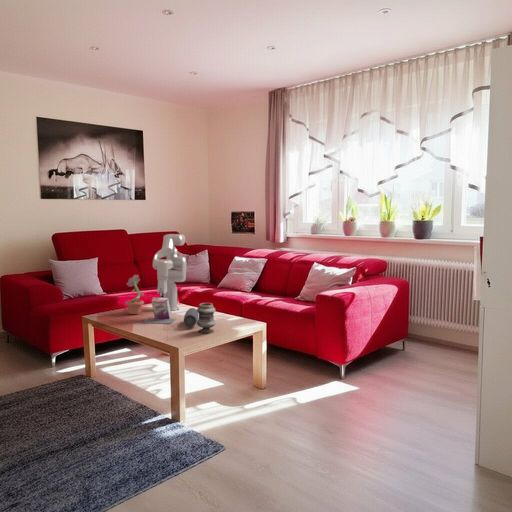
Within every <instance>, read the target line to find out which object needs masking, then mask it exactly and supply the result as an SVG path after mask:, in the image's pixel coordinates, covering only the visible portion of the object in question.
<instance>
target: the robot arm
mask: <svg viewBox="0 0 512 512" xmlns="http://www.w3.org/2000/svg"><path fill="white" fill-rule="evenodd" d="M162 239H163V241H162V246H161V249H159V250H158V251H157V252H156V253H155V254H154V256H153V259H152V268H153V269H154V270H157V272H156V274H157V275H156V276H157V277H156V278H157V294H158V295H159V296H160V297H159V298H168V300H169V305H170V310H173V311H177V310H176V309H178V310H180V307H179V306H178V287H177V284H176V283H175V282H177V283H178V282H179V283H180V282H181V283H183V282H185V281H186V278H187V265H188V264H187V258H186V257H184V256H178V252H179V251H178V249H177V248H176V246H184V244H185V243H186V237H185V234H183V233H182V234H181V233H176V234H175V233H169V234H165V235H163V238H162ZM162 258H166V259H162Z"/></svg>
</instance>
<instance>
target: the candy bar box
mask: <svg viewBox="0 0 512 512" xmlns="http://www.w3.org/2000/svg"><path fill="white" fill-rule="evenodd" d="M151 307H152V309H153V310H152V311H153V315H154V318H155V319H171V316H172V311H170V305H169V300H168V298H160V297H156V296H155V297H154V296H153V297H152V299H151Z"/></svg>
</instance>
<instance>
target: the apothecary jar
mask: <svg viewBox="0 0 512 512" xmlns="http://www.w3.org/2000/svg"><path fill="white" fill-rule="evenodd" d="M196 310H197V312H198V320H197V322H196V325H197V326H198V327H200V329H199V330H198V333H200V334H212V333H214V329H213V327H214V326H215V325H216V320H215V318H214V317H215V316H214V313H215V312H216V308H215V307H214V305H213V303H211V302H202V303H199V305H198V307H197V308H196Z"/></svg>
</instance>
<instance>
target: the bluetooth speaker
mask: <svg viewBox="0 0 512 512" xmlns="http://www.w3.org/2000/svg"><path fill="white" fill-rule="evenodd" d="M198 320H199V313H198V312H197V308H194V307H190V308H189V309H188V310H186V311H185V313H184V316H183V323H184V324H183V325H185V326H186V327H188V328H193V327H194V326H195V325H197V321H198Z"/></svg>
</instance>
